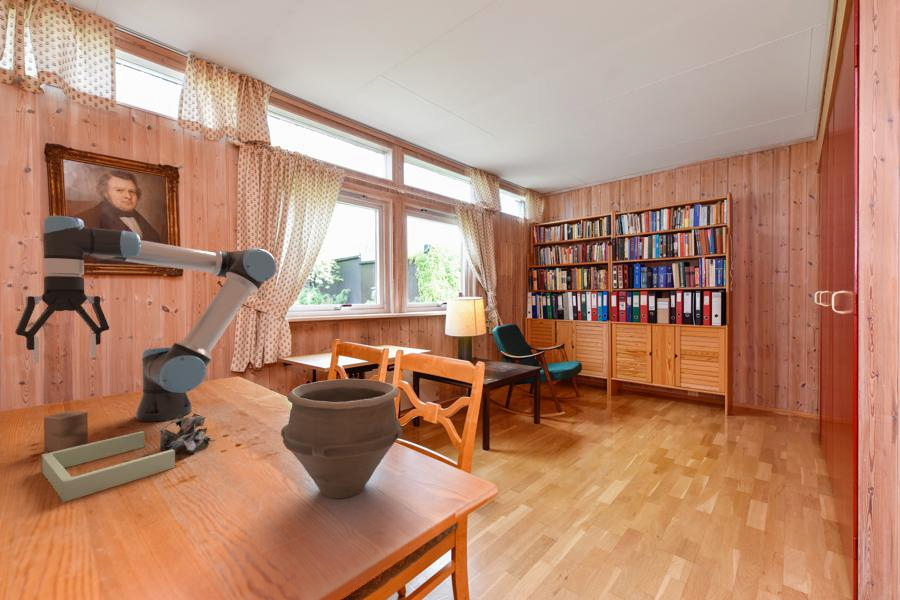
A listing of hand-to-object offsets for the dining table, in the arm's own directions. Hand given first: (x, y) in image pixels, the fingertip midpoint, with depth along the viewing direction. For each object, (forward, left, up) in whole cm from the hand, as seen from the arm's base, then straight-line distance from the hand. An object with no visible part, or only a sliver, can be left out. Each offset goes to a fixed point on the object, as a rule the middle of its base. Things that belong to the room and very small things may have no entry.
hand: (65, 359), depth 102 cm
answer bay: (-3, +25, -24) cm, 35 cm away
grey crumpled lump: (-19, +24, -24) cm, 39 cm away
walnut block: (0, 0, -24) cm, 24 cm away
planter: (-30, +76, -24) cm, 85 cm away
